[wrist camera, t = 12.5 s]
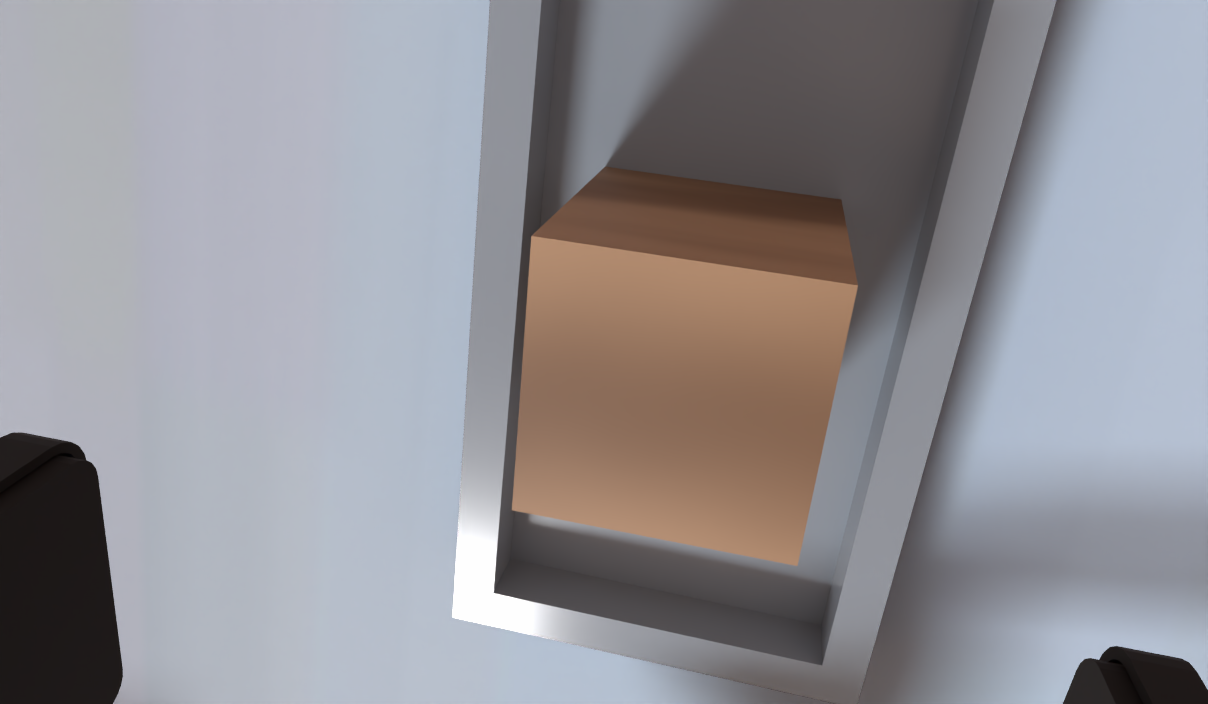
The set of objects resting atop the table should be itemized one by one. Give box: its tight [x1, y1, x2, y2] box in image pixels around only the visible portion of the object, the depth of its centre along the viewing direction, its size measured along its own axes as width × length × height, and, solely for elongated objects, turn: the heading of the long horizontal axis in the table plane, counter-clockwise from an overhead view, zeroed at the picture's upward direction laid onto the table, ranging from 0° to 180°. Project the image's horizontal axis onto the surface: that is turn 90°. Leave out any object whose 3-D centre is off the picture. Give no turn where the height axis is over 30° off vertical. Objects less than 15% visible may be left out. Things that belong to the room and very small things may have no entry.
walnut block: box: [512, 167, 858, 566], centre depth 18 cm, size 5×5×6 cm
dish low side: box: [453, 0, 1057, 704], centre depth 20 cm, size 18×10×2 cm, turn 173°
